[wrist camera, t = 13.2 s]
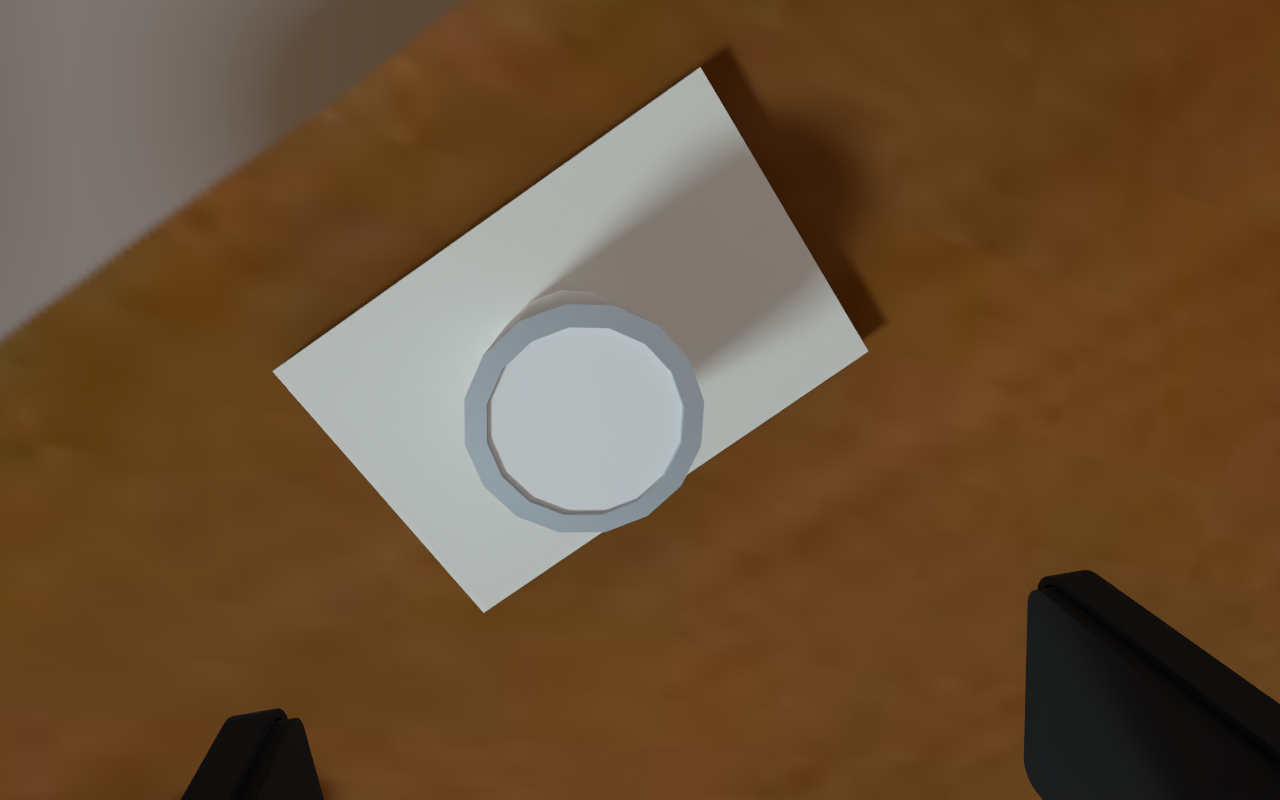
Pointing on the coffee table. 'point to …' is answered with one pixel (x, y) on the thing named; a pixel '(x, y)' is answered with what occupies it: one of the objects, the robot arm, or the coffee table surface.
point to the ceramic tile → (584, 261)
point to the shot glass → (582, 414)
